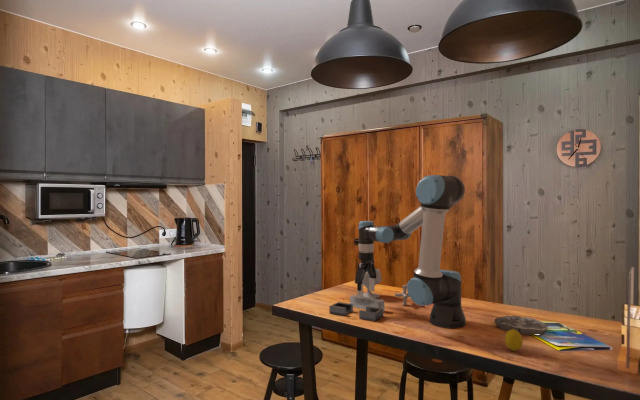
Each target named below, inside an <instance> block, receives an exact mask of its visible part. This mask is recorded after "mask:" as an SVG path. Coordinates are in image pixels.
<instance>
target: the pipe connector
mask: <svg viewBox="0 0 640 400" xmlns="http://www.w3.org/2000/svg"><path fill="white" fill-rule="evenodd" d="M394 297H395V298H399V297H401V298H402V305H403V306H407V305H408V303H407V301H408V298H410V297H409V295H408V292H407V284H403V285H402V291H401V293H400V292H398V293H397V292H395V293H394Z"/></svg>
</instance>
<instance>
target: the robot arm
mask: <svg viewBox="0 0 640 400" xmlns="http://www.w3.org/2000/svg"><path fill="white" fill-rule="evenodd" d="M465 192H466V188H465V185H464V183H463V181H462V180H461V178H459V177H457V176H455V175H441V174H432V175H431V174H430V175H426V176H423V177H422V178H421V179H420V180H419V181H418V183H417V185H416V189H415V195H416V198H417V200H418V201H419V202H420V206H418V207H417V208H416V209H415V210H414V211H412V212H411V213H409V214H408V215H407V216H406V217H404V218H403V219H402V220H401V221H399V222H398V223H397V224H395V225H384V226H383V225H382V226H381V225H375V224H374V221H371V220H361V221H359V223H358V229H357V230H358V245H357V246H358V251H359V252H358V260H360V261H361V262H358V264H357V270H356V275H355V280H354V284H356V286H357V288H356V292H357V293H356V294H357V297H363V293H364V285H363V284H362V282H363V279H364V276H365V273H366V272H367V271H368V274H369V276H370V278H369V291H371V292H375V289H376V288H375V286H376V285H375V279H374V278H376V276H377V274H376V270H375V269H376V267H375V266H376V265H375V260H374V258H375V254H374V252H375V250H374V249H375V243H374V242H378V243H381V244H389V243H391V242H394V241H405V240H408V239H409V238H410V237H411V235H412V233H414V231H416V230H417V229H418V228H420V227H421V237H420V246H419V247H420V249H419V255H418V256H419V257H418V267H416V268H415V269H414V271H413V278H412V277H411V278H410V280H408V281H407V283H406V293H408V295H409V297H408V298H410V300H411V301H412V302H413V303H414V304H415V305H417V306H420V307H424V306H431V305H432V308H431V311H430V314H429V323H431V324H432V326H433V325H434V326H436V327H440V328H447V329H458V328H463V327H465V326H466V325H467V324H466V322H467V319H466V315H465V313H464V310H463V307H462V276H461V273H460V272H459V271H456V270H449V269H441V259H442V250H443V241H444V240H443V239H444V229H445V222H446V213H448V212H449V211H450V210H451V208H452V207H454V206H456V205H457V204H458V203H459V202H460V201H461V200H463V198H464V196H465Z"/></svg>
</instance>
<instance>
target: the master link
mask: <svg viewBox="0 0 640 400" xmlns="http://www.w3.org/2000/svg"><path fill="white" fill-rule="evenodd" d="M349 304H353V308H356V309H360V310H364V311H366V307H367V306H369V307H375V308H382V309H383V312H385V310H386V308H385V300H384V299H379V298H369V297H364V296H363V297H357V295H356V294H352V295H350V296H349Z"/></svg>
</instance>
